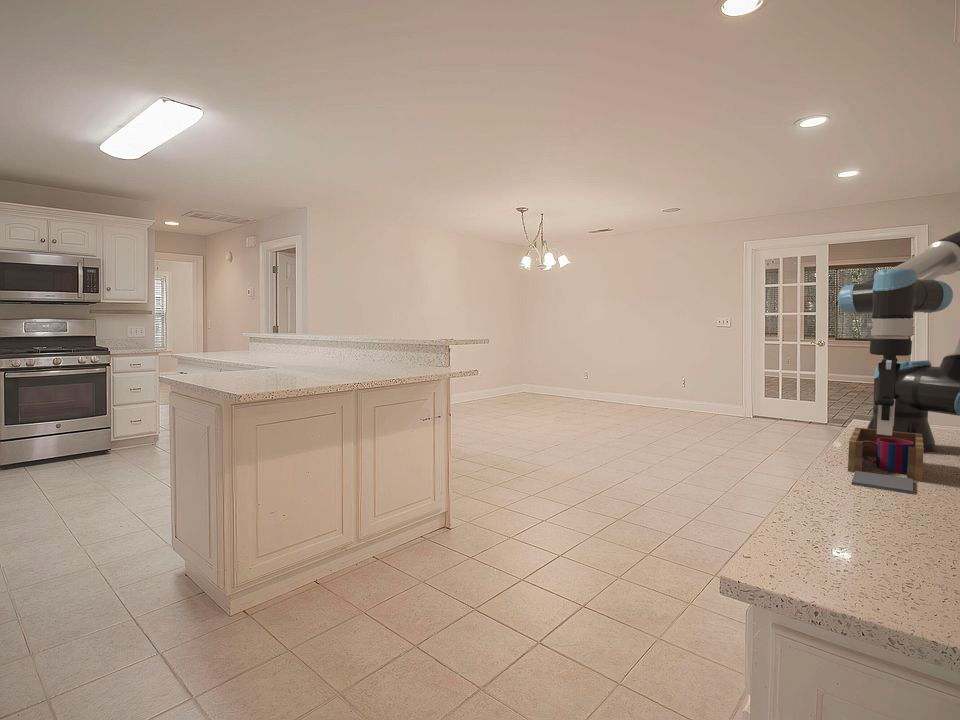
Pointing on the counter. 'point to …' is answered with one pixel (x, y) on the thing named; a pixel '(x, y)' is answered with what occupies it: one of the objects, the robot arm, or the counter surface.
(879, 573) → the counter surface
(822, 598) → the counter surface
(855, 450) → the walnut box
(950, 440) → the counter surface
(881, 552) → the counter surface
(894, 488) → the slate mat
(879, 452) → the mug
